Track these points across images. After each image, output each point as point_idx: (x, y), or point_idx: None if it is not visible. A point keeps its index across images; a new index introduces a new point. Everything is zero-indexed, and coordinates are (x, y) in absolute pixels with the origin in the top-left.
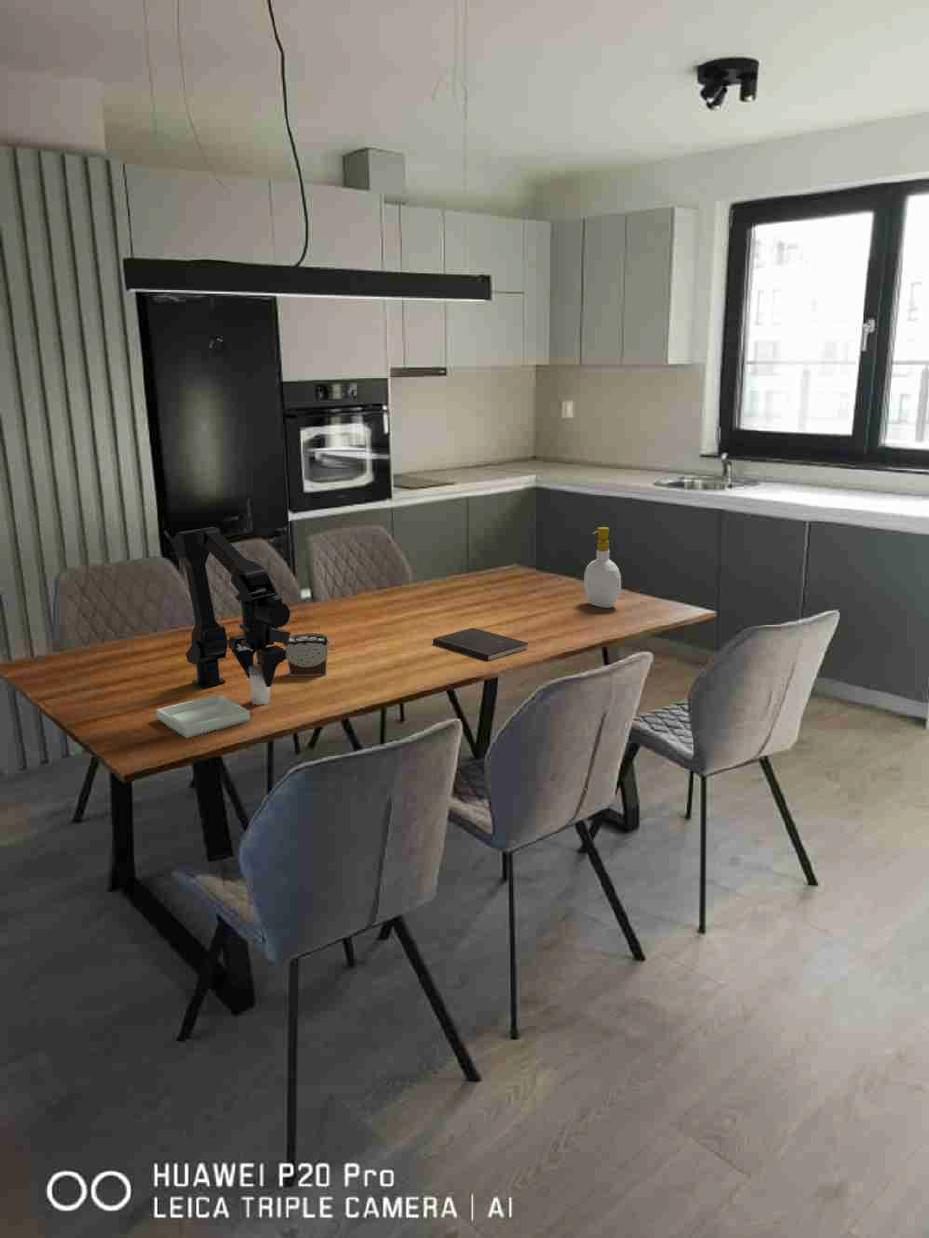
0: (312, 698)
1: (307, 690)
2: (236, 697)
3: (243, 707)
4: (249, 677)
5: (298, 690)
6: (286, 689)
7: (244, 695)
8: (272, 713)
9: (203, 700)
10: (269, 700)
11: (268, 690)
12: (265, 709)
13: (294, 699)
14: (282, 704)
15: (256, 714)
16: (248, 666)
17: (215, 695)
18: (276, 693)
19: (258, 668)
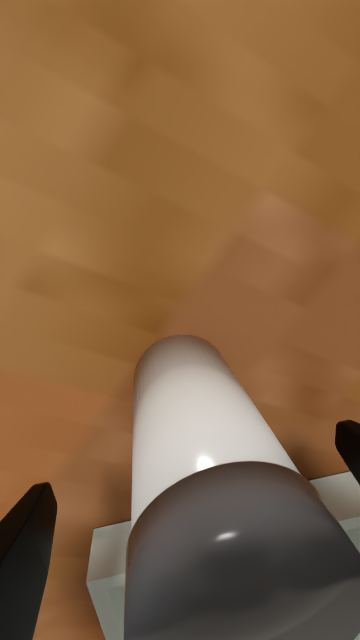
0: (318, 105)
1: (153, 41)
2: (44, 457)
3: (342, 521)
4: (55, 503)
5: (116, 104)
6: (48, 171)
7: (32, 420)
8: (352, 380)
9: (121, 622)
10: (218, 351)
11: (239, 382)
12: (289, 390)
13: (259, 214)
14: (284, 303)
15: (314, 435)
16: (9, 632)
17: (102, 593)
18: (94, 263)
19: (324, 636)
